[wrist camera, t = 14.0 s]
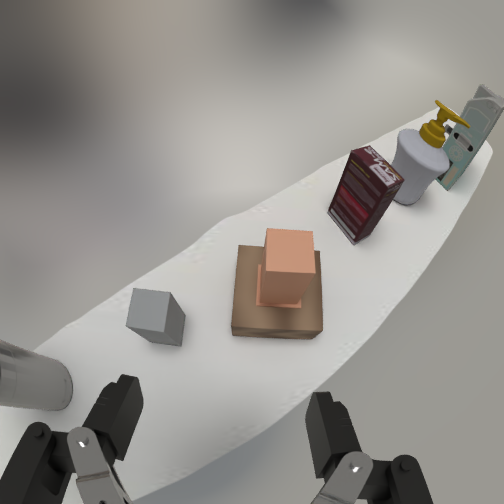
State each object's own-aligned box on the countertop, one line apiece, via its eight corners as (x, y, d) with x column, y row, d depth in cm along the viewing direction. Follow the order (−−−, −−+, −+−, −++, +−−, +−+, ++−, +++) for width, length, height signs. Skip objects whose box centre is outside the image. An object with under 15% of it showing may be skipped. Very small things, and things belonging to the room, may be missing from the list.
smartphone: (442, 130, 75) (443, 129, 74) (445, 125, 78) (446, 123, 77) (473, 155, 70) (474, 154, 69) (474, 148, 73) (475, 147, 72)
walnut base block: (232, 335, 40) (231, 325, 34) (238, 263, 45) (238, 244, 40) (312, 339, 40) (323, 330, 34) (310, 268, 46) (319, 250, 40)
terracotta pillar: (259, 302, 36) (265, 270, 27) (260, 268, 38) (266, 228, 30) (297, 304, 36) (315, 273, 27) (296, 270, 38) (312, 231, 30)
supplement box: (370, 235, 49) (407, 180, 35) (353, 246, 48) (389, 189, 34) (343, 203, 53) (369, 143, 39) (325, 211, 52) (349, 149, 38)
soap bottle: (412, 223, 51) (472, 139, 30) (366, 188, 55) (410, 95, 34) (427, 194, 56) (475, 119, 35) (387, 164, 60) (424, 83, 38)
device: (445, 156, 66) (485, 83, 39) (462, 173, 63) (507, 102, 37) (427, 171, 61) (475, 85, 34) (447, 191, 58) (502, 107, 32)
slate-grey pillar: (150, 341, 38) (125, 326, 30) (155, 311, 41) (133, 287, 32) (181, 346, 38) (163, 332, 30) (185, 314, 41) (170, 292, 32)
